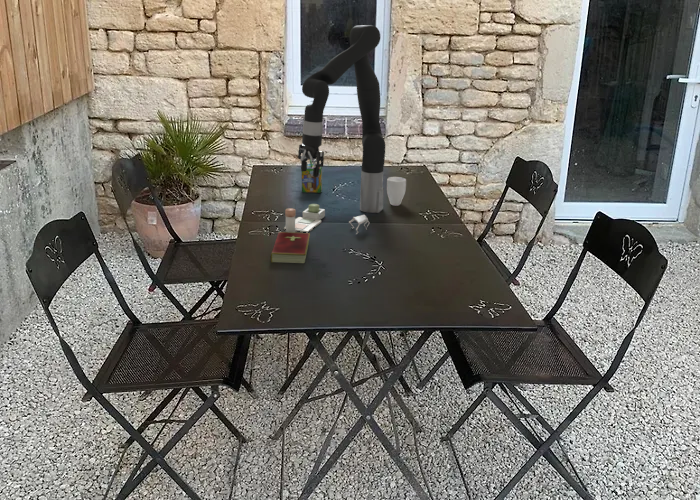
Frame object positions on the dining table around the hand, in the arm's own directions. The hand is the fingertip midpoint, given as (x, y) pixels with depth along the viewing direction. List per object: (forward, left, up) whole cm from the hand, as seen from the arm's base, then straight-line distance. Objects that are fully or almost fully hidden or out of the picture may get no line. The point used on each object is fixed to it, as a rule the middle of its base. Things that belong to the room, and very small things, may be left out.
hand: (309, 173), depth 261 cm
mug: (-24, -40, -20) cm, 51 cm away
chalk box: (+17, -42, -20) cm, 50 cm away
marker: (+1, +17, -20) cm, 26 cm away
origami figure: (-21, 0, -21) cm, 30 cm away
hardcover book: (-6, +32, -21) cm, 38 cm away
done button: (+1, -6, -18) cm, 19 cm away
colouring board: (+1, +5, -20) cm, 21 cm away
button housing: (+1, -6, -20) cm, 21 cm away
